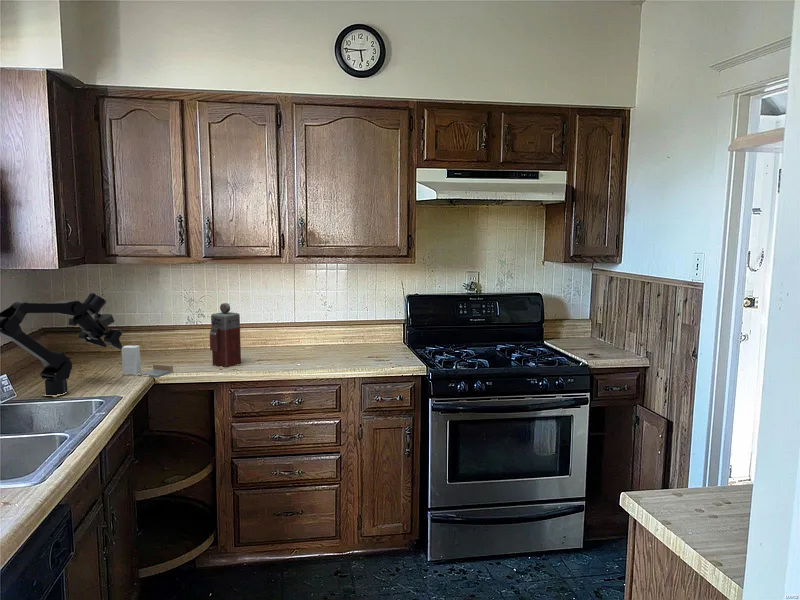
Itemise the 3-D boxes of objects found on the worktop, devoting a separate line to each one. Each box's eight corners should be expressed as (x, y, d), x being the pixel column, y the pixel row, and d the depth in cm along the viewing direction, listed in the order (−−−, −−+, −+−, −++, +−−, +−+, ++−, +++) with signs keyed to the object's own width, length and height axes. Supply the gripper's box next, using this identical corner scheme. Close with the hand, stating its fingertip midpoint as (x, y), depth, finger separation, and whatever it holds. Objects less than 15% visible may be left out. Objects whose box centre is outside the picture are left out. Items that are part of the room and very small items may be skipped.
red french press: (208, 366, 256) (206, 304, 252) (227, 361, 265) (225, 301, 262) (222, 368, 251) (220, 305, 248) (241, 363, 261) (239, 302, 257)
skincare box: (141, 372, 243) (140, 345, 241) (137, 375, 239) (135, 347, 237) (126, 372, 243) (125, 345, 241) (122, 375, 238) (120, 347, 237)
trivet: (156, 377, 236) (156, 370, 235) (138, 375, 238) (138, 369, 238) (173, 371, 245) (172, 365, 245) (155, 370, 248) (155, 363, 248)
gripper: (117, 309, 222) (141, 333, 233) (84, 306, 229) (109, 329, 240) (100, 332, 215) (125, 356, 226) (66, 328, 223) (93, 351, 234)
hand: (113, 347), depth 232 cm, fingers open, 9 cm apart
